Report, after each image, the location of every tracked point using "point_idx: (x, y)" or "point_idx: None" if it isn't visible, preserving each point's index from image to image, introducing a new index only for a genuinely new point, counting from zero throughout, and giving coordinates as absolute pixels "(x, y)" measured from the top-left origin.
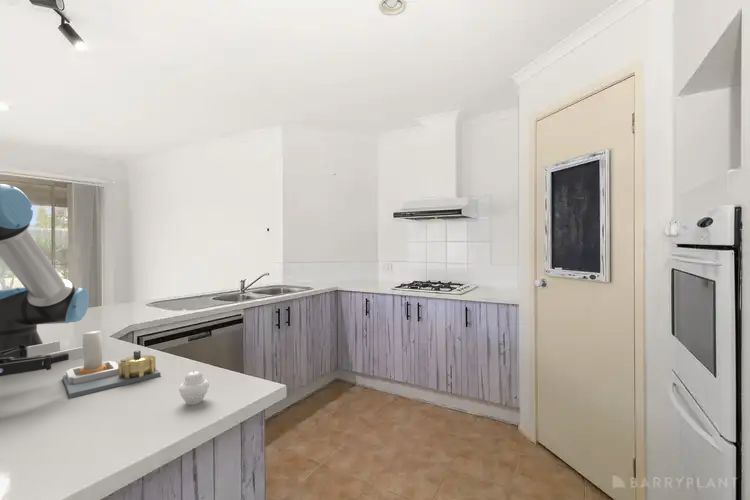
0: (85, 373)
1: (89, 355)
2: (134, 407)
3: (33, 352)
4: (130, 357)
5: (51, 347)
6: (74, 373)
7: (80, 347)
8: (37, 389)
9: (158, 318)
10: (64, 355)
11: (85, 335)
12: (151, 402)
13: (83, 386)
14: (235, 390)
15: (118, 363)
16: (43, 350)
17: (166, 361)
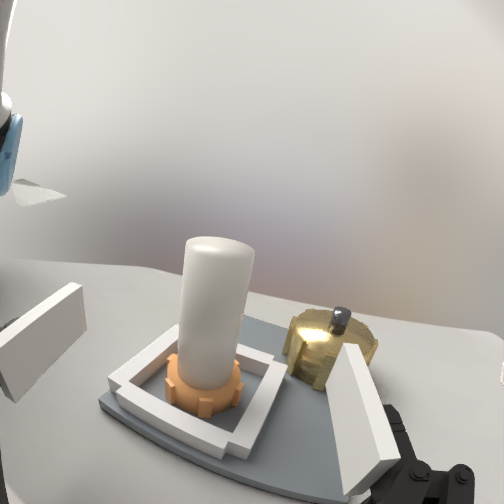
0: (215, 403)
1: (228, 346)
2: (496, 431)
3: (22, 369)
4: (303, 326)
5: (65, 323)
6: (185, 413)
7: (352, 349)
8: (105, 487)
9: (49, 198)
10: (398, 421)
11: (228, 264)
12: (488, 412)
13: (307, 459)
14: (490, 351)
15: (328, 357)
16: (47, 346)
17: (261, 307)
